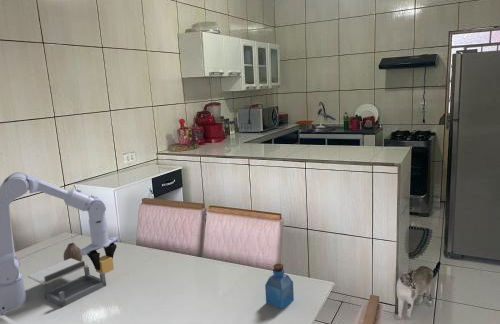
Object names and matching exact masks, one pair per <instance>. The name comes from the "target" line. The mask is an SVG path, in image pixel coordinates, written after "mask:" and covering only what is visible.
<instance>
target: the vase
mask: <svg viewBox="0 0 500 324" xmlns="http://www.w3.org/2000/svg"><path fill="white" fill-rule="evenodd" d="M70 258H72V259H74V260H77V261H80V262H81V261H83V255H81V248H80V247H79V246H77V245H76V243H75V242H70V243H68V244H67V247H66V249H64V252H63V261H65V260H68V259H70Z"/></svg>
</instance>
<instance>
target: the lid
mask: <svg viewBox="0 0 500 324" xmlns="http://www.w3.org/2000/svg"><path fill="white" fill-rule="evenodd" d="M84 267H89V265H88V264H87V263H85V261H84V260H82V261H81V262H80V261H77V260H74V259H72V258H70V259H68V260H65V261H64V260H63V261H61V262H57V263H56V264H53V265H51V266H48V267H46V268H44V269H40V270H39V271H35V272H33V273H31V274H28V275H27V278H29V279H31V280H32V281H35V282H37V283H39V284H41V285H42V286H43V285H45V284H49V283H52V282H54V281H56V280H58V279H61V278H63V277H65V276H67V275H70V274H72V273H74V272H77V271H80V270H81V269H84Z"/></svg>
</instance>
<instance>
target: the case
mask: <svg viewBox="0 0 500 324" xmlns="http://www.w3.org/2000/svg"><path fill="white" fill-rule="evenodd" d="M83 270H84V271H83V273H84V275H81V276H80V277H77V278H75V279H73V280H71V281H69V282H66V283H64V284H62V285H59V286H57V287H56V288H53V289H50V287H49V283H47V284H45V285H43V284H42V286H43V287H42V289H43V294H44V299H46V300H48V301H49V302H51V303H53V304H54V305H57V306H58V307H61V308H64V307H67V306H68V305H71V304H73V303H75V302H76V301H79V300H80V299H83V298H84V297H87V296H89V295H91V294H92V293H94V292H97V291H99V290H101V289H103V288H104V287H106V286H107V280H106V273H103V272H102V273H99V277H96V276H94V275H92V274H91V273H90V267H89V266H86V267H84V268H83Z"/></svg>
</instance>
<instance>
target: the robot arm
mask: <svg viewBox="0 0 500 324" xmlns="http://www.w3.org/2000/svg"><path fill="white" fill-rule="evenodd" d="M28 191H29V192H28ZM38 192H40V193H43V194H46V195H49V196H51V197H55V198H58V199H62V201H63V202H64V204H65V206H66V205H67V206H68V207H71V208H74V209H77V210H79V211H83V212H87V214H88V223H89V224H88V225H89V231H90V239H91V243H90V244H88V245H86V246H85V247H84V248H80V250H81V255H82V257H83V256H84V257H85V256H87V257H88V258H89V259H90V261H91V262H92V264H93V267H94V269H95V271H96V270H100V262H99V258H100V257H101V256H100V255H101V253H100V252H98V250H99V249H103V250H104V252H105V255H106V256H109V257H112V259H114V255H115V252H116V249H117V244H115V243H119V242H120V241H121V240H120V236H119V235H115V236H111V237H109V232H108V231H109V230H108V225H107V223H108V222H107V217H106V211H107V207H106V204H105V203H104V201H103V200H102V199H101V198H99V197H98V196H95V195H93V194H91V195H90V194H87V193H85V192H82V190H81V189H79V188H77V189H74V188H73V189H69V190H67V189H64V188H62V187H60V186H57V185H55V184H53V183H50V182H48V181H46V180H43V179H42V178H39V177H37V176H33V175H30V174H26V173H23V172H20V171H19V172H18V171H17V172H13V173H12V174H10V175H9V176H8V177H5V179H4V180H3V181H2V182H1V185H0V316H5V314H4V313H5V312H6V311H9V310H11V309H15V308H17V307H19V306H22V305H24V304H25V303H26V302H27V294H26V289H25V283H24V278H23V274H22V273H20V265H21V262H20V260H19V258H18V257H17V255H16V251H15V250H16V249H15V244H14V238H13V237H14V236H13V229H12V228H13V227H12V221H11V220H12V219H11V211H10V210H11V209H10V205H11V204H12V202H14V201H15V200H16V199H17V198H20V197H22V196H24V195H26V193H29V194H34V193H38Z"/></svg>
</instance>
